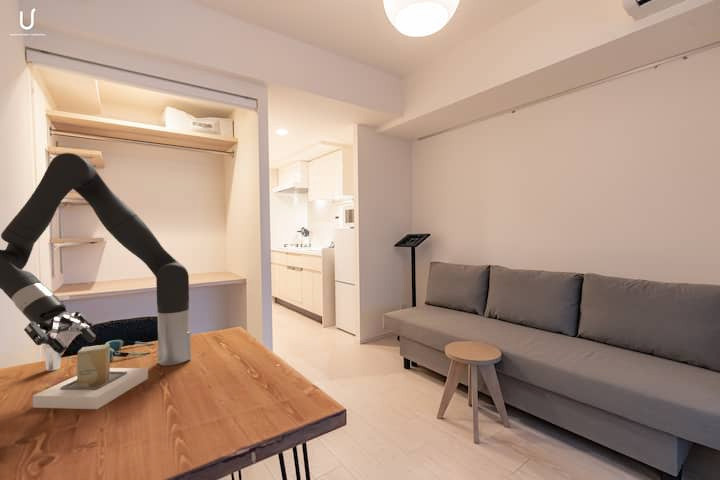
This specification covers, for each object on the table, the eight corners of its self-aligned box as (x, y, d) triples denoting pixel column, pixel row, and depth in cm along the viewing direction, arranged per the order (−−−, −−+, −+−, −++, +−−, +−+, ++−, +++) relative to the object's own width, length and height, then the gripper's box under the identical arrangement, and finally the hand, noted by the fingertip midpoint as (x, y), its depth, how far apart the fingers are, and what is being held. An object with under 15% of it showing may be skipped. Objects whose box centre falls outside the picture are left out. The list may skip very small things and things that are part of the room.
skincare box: (76, 398, 84) (75, 352, 84) (82, 391, 88) (81, 347, 88) (107, 392, 87) (106, 347, 87) (111, 386, 91) (110, 343, 91)
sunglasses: (108, 350, 121) (110, 337, 121) (154, 349, 127) (156, 336, 128) (98, 363, 108) (100, 348, 108) (150, 361, 115) (152, 347, 115)
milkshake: (52, 372, 100) (52, 341, 100) (39, 371, 101) (38, 340, 101) (68, 367, 105) (68, 336, 105) (55, 366, 106) (55, 335, 106)
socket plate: (94, 377, 96) (94, 366, 96) (147, 378, 95) (147, 367, 95) (33, 407, 80) (32, 394, 80) (97, 409, 78) (97, 395, 78)
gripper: (18, 299, 81) (62, 344, 80) (72, 289, 95) (110, 328, 94) (-1, 320, 81) (43, 365, 81) (56, 307, 96) (93, 346, 95)
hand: (79, 345), depth 88 cm, fingers open, 8 cm apart
